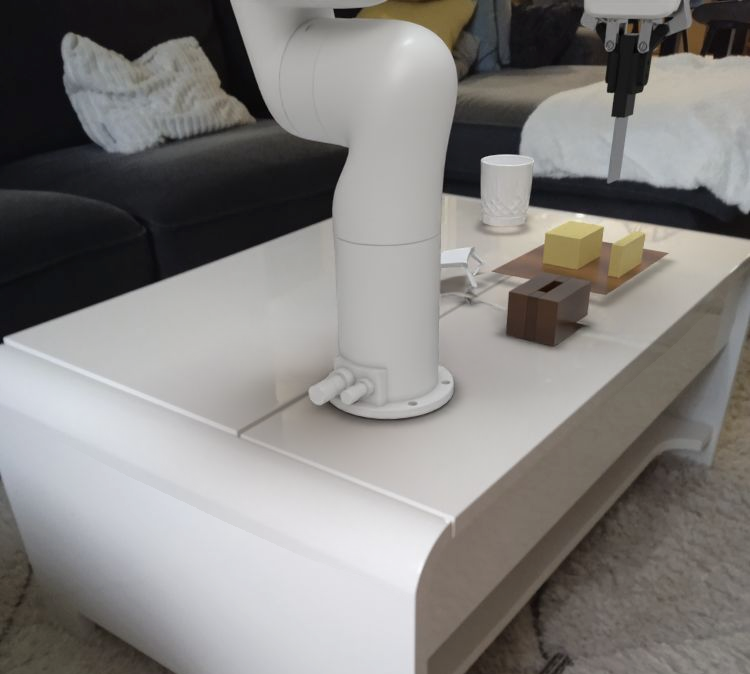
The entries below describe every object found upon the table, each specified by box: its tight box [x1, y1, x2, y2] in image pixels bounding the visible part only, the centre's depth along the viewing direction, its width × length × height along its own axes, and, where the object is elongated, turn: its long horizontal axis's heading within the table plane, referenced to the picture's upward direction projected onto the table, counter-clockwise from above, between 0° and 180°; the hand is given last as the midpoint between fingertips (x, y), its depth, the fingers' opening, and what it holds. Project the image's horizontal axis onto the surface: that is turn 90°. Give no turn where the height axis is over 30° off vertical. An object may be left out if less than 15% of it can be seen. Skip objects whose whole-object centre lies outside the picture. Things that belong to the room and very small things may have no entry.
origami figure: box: [440, 246, 486, 305], centre depth 103 cm, size 12×8×5 cm
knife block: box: [505, 272, 592, 347], centre depth 92 cm, size 8×6×5 cm
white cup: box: [480, 154, 535, 228], centre depth 125 cm, size 8×8×10 cm
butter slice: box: [608, 230, 647, 278], centre depth 105 cm, size 7×2×4 cm, turn 142°
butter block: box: [543, 220, 605, 270], centre depth 109 cm, size 7×5×4 cm
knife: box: [606, 32, 640, 184], centre depth 92 cm, size 3×2×15 cm, turn 142°
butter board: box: [491, 241, 670, 296], centre depth 110 cm, size 20×16×1 cm
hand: (625, 91), depth 91 cm, fingers closed on knife, 1 cm apart
